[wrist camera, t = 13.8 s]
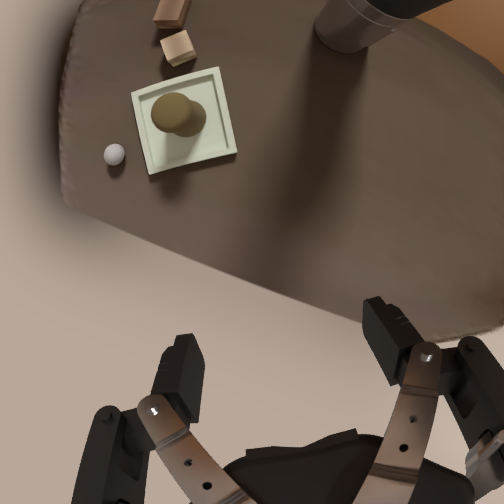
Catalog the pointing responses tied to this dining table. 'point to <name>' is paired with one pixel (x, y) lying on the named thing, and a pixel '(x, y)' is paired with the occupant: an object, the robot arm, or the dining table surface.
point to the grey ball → (114, 154)
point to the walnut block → (172, 14)
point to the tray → (185, 148)
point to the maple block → (178, 48)
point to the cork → (178, 115)
